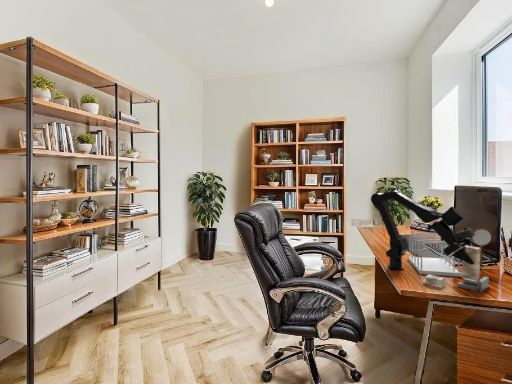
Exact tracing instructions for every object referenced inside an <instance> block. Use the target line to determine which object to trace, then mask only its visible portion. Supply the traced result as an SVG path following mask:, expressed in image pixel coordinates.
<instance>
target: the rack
mask: <svg viewBox="0 0 512 384" xmlns="http://www.w3.org/2000/svg"><path fill="white" fill-rule="evenodd" d="M462 281H463V282H460V281H459V282H458V281H457V282H456V287H458V288H461V289H462V288H463V289H465V290H469V289H470V291H474V292H477V293H483V292H484V291H485V290H487V289H488V288H489V282H490V280H489V277H488V276H483V277H482V278H479V279H478V280H476V281H474V280H470V279H466V278H463V279H462Z"/></svg>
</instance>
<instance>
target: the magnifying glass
mask: <svg viewBox="0 0 512 384" xmlns="http://www.w3.org/2000/svg"><path fill="white" fill-rule="evenodd" d="M474 234H475V236H473V237H471V239H472V240H473V242H472V244H474V245H476V246H477V247H479V248H481V251H480V269H482V268H483V252H484V246H488V245H489V244H490V243H491V242H492V240H493V236H492V233H491V232H490V231H489V230H488V229H486V228H481V227H480V228H476V229H475V230H474Z"/></svg>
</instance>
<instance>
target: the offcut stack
mask: <svg viewBox="0 0 512 384" xmlns="http://www.w3.org/2000/svg"><path fill="white" fill-rule="evenodd" d="M425 284H427V285H426V286H429V285H431V286H430V287H433V286H435V287H434V288H437V287H439V288H438V289H442V288H444V287H445V286H446V281H445V277H442V276H439V275H429V274H426V276H425V277H424V279H423V280H422V285H425Z"/></svg>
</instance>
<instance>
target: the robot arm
mask: <svg viewBox="0 0 512 384" xmlns="http://www.w3.org/2000/svg"><path fill="white" fill-rule="evenodd" d="M391 200H394V201H396V202H397V203H399V205H400V204H401V205H402V206H403V207H405V208H406V209H408V210H410V211H412V212H413V213H414V214H415V215H416V217H418V219H420V221H422V222H423V223H432V224H427V229H426V230H427V232H429V231H434V233H437V234H436V235H439V236H440V237H441V239H439V240H441V241H443V242H444V243H446V248H445V247H444V249H443V254H444V256H445V255H446V257H449V255H450V257H453V256H454V257H455V259H458V258H459V259H460V261H462V260H463V261H465V262H467V263H469V264H471V265H473V264H474V262H473V261H472V259H471V258H470V257H469V255H468V254H467V253H466V250H465V247H464V246H472V245H473V240H472V239H471V237H473V236H475V234H474V231H475V230H474V229H473V228H471V227H469V226H466V227H463V230H461V231H457V230H456V229H454V230H453V228H452V227H456V226H457V225H458V224H459V223H461V222H462V221H464V220H465V219H466V215H465V214H464V213H463V212H462V211H461V210H460V209H458V208H455V206H450V207H449V208H448V209H447V210H446V211H445V212H438V211H437V210H436V209H434V208H432V207H428V206H425V205H422V204H420V203H418V202H417V201H416V200H413V199H411V198H410V197H409V196H406V195H405V194H403V193H401V191H399V190H391V191H388V192H378V193H377V192H376V193H373V194H372V195H371V197H370V201H371V203H372V205H373V206H374V208H376V210H377V211H378V212H379V215H380V217H381V220H382V222H383V224H384V227H385V230H386V231H387V234H388V236H389V249H388V250H387V251H385V256H386V257H388V258H389V259H388V260H389V263H388V264H387V268H388V269H389V270H392V271H396V270H397V271H404V270H405V268H404V267H403V264H402V263H403V256H405V255H406V253H407V252H409V242H408V241H407V237H406V236H404V237H403V236H402V235H401V234H400V232H399V230H398V226H397V225H396V223H395V220H394V218H393V216H392V213H391V211H390V209H389V208H390V207H389V205H390V202H389V201H391ZM451 226H452V227H451ZM441 241H440V242H441ZM472 247H473V246H472ZM453 253H454V254H453Z"/></svg>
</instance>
